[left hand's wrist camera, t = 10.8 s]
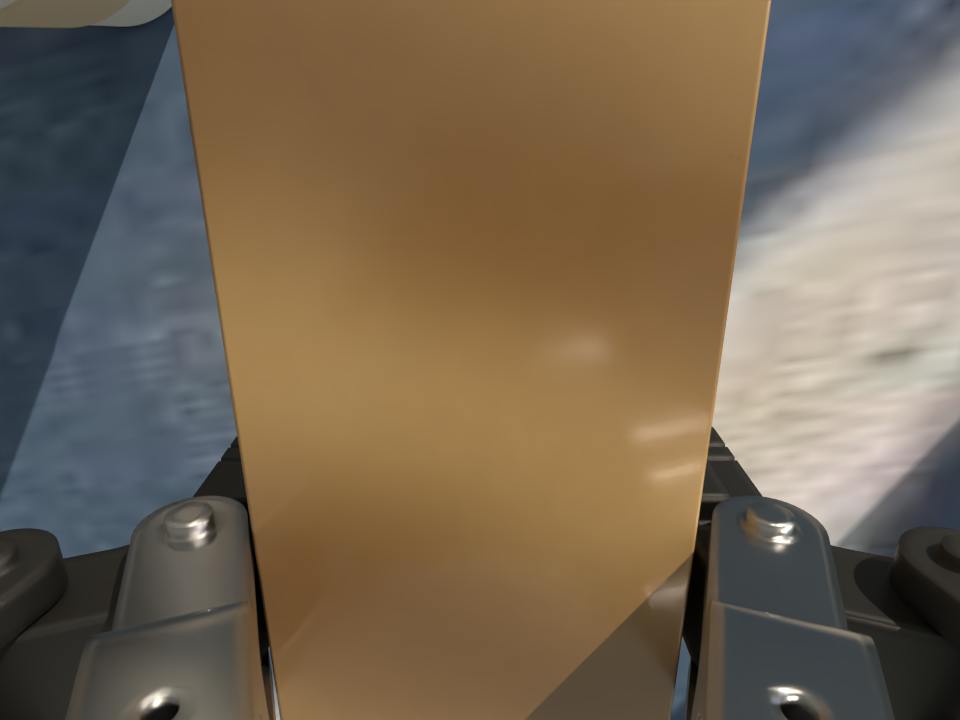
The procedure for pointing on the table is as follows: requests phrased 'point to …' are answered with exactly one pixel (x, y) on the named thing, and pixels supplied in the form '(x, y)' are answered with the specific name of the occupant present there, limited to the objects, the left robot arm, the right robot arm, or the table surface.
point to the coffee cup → (79, 12)
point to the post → (473, 334)
